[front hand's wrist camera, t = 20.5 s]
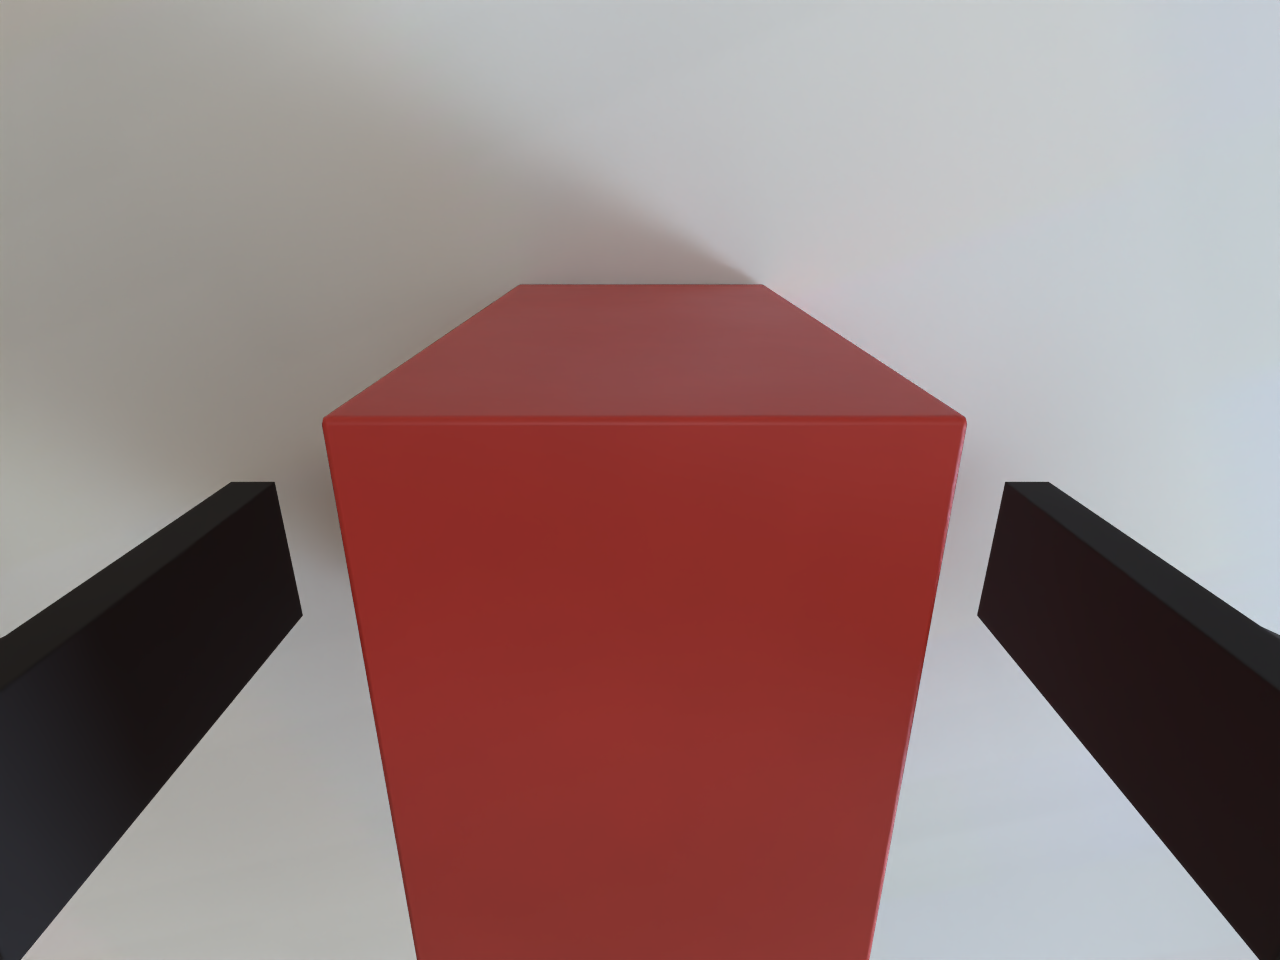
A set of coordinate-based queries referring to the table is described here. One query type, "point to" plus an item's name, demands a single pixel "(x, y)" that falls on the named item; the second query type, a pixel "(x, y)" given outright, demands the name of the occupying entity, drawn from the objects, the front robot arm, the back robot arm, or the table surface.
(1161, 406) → the table surface
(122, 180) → the table surface
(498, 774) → the brick
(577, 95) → the table surface
